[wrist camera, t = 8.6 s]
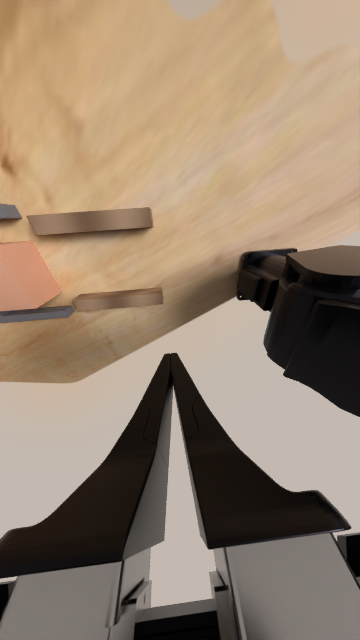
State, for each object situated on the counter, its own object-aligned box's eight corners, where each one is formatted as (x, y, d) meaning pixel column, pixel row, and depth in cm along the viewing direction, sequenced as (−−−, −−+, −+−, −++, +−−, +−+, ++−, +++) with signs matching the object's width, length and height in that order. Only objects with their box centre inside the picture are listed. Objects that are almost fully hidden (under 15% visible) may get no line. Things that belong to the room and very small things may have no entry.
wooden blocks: (151, 209, 15) (149, 207, 13) (163, 297, 20) (162, 304, 19) (42, 216, 14) (26, 215, 13) (85, 304, 20) (77, 311, 18)
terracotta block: (33, 240, 16) (-9, 246, 12) (62, 291, 19) (36, 308, 15) (-24, 244, 15) (-84, 251, 12) (16, 295, 19) (-22, 313, 15)
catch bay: (14, 205, 14) (-1, 203, 12) (74, 311, 20) (68, 317, 19) (-83, 211, 13) (-108, 210, 12) (10, 317, 20) (0, 323, 19)
